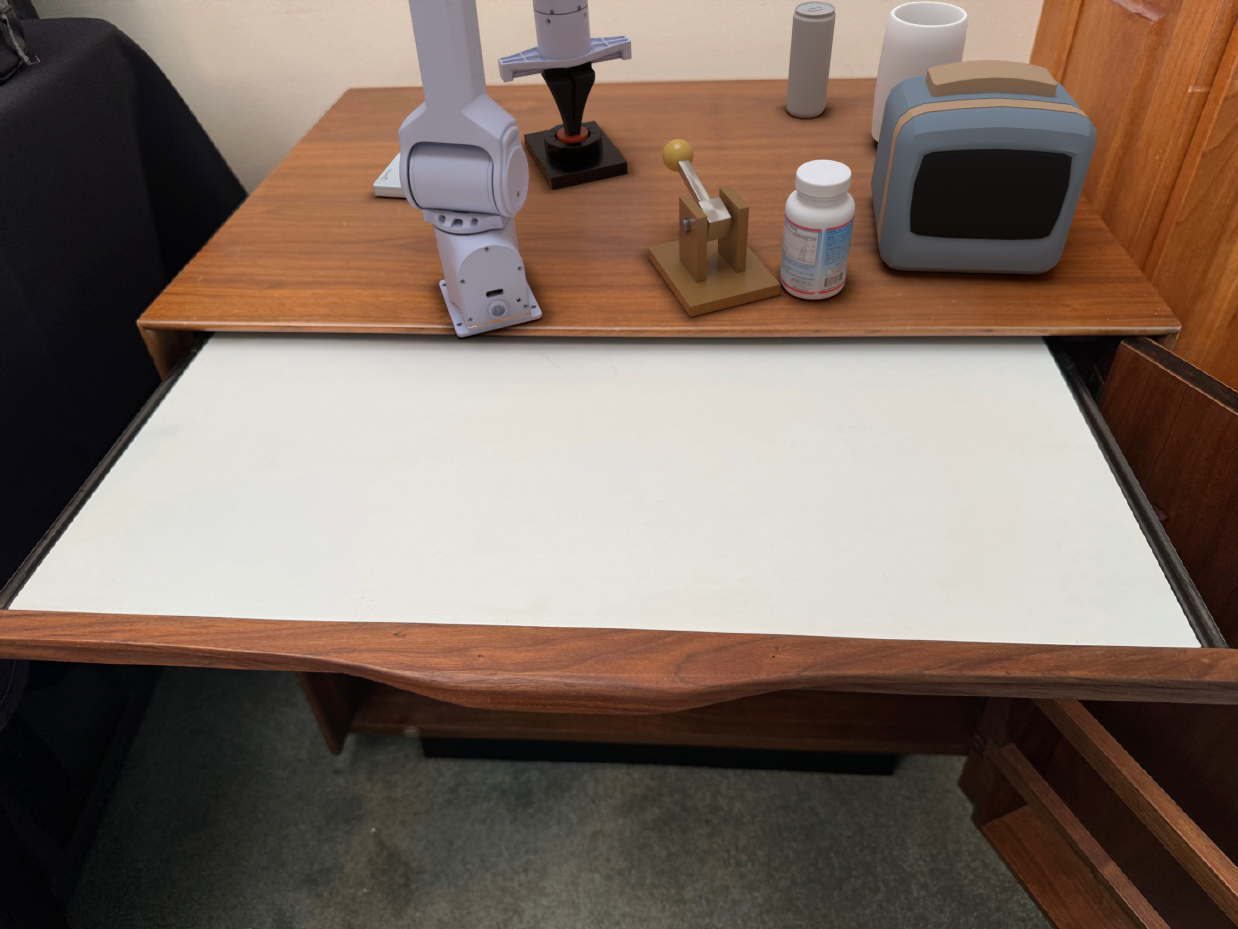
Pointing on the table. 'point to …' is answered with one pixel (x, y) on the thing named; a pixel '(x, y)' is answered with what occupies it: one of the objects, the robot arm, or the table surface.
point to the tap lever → (697, 188)
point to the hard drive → (389, 181)
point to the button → (565, 138)
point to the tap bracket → (712, 260)
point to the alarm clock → (979, 169)
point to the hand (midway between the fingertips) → (572, 132)
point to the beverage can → (810, 58)
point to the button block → (575, 156)
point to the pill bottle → (817, 230)
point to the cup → (917, 47)
